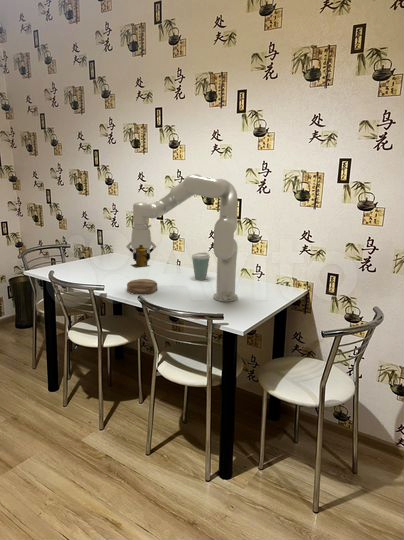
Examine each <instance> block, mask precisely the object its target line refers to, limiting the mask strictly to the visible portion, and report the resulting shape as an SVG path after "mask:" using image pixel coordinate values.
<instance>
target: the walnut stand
mask: <svg viewBox="0 0 404 540" xmlns="http://www.w3.org/2000/svg"><path fill="white" fill-rule="evenodd" d="M126 288H127V289H126V291H127V293H129V292H130V293H129V294H131V293H133V294H132V295H136V294H146V295H151V293H152V294H155V293H156V292H157V291H158V283H157V282H156V281H155V280H153V279H148V278H138V279H133V280H130V281H129V282H128V283H126Z"/></svg>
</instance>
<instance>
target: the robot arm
mask: <svg viewBox="0 0 404 540" xmlns="http://www.w3.org/2000/svg"><path fill="white" fill-rule="evenodd" d="M195 195H196V196H201V197H205V198H208V199H209V198H210V199H220V202H219V218H218V220H217V221H216V222H215V224H214V228H213V253H214V256H215V257H216V258H217V262H216V263H217V264H216V290H215V291H216V293H213V295H212V296H213V299H214V300H216V301H218V302H224V303H225V302H226V303H228V302H229V303H230V302H234V301H237V300H238V298H239V296H238V294H236V280H237V279H236V278H237V276H236V273H237V257H238V256H237V255H238V243H237V241H236V240H235V237H234V236H235V232H236V231H237V229H238V194H237V190H236V189H235V186H234V185H233V184H232V183H231V182H229V181H228V180H226V179H223V178H216V179H213V178H207V177H203V176H201V175H200V174H198V173H196V174H195V173H193V174H189V175H188V176H186V177H185V178H184V179H183V181H181V182H180V183H178V184H177V185H175V186H174V187H172V188H171V189H170V190H169V193H167V194H166V195H165V196H163V197H162V198H160V199H159V200H158V201H155V202H152V203H147V202H141V201H139V202H135V203H133V205H132V216H133V217H132V218H133V219H132V221H133V228H132V230H131V240H130V242H128V244H127V245H126V249H128V250H129V251H130V252H131V253H132V260H133V261H134V262H136V249H138V248H139V247H140V245H142V246H143V247H144V249H147V262H149V261H150V260H151V253H152V252H153V251H154V250H155V249H156V248H157V245H156V244H155V243H154V242H153V241H152V235H151V233H152V232H151V229H150V228H151V227H152V224H150V223H149V219H153V220H154V219H157V218H160V217H162V216H163V215H165V214H167V213H168V212H170V211H172V210H173V209H175V208H176V207H177V206H180V205H181V204H182V203H184V202H185V201H187V200H188V199H190V198H192V197H193V196H195ZM151 246H152V247H151Z"/></svg>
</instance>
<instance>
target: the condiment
mask: <svg viewBox="0 0 404 540" xmlns="http://www.w3.org/2000/svg"><path fill="white" fill-rule="evenodd" d="M135 253H136V261H135V264H133V263H132V264H130V266H131V267H133V268H134V269H140V268H148V267H150V265H149V264H148V261H147V253H148V252H147V249H144V247H143V246H142V245H140V247H139V248H138V249H136V251H135Z"/></svg>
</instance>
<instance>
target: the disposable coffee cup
mask: <svg viewBox="0 0 404 540" xmlns="http://www.w3.org/2000/svg"><path fill="white" fill-rule="evenodd" d="M209 254H210V253H209V252H196V253H193V255H192V256H191V259H192V265H193V266H192V267H193V271H194V279H195V280H199V281H204V280H206V278H207V276H208V268H209V262H210V259H211V258H210V257H211V256H210V255H209Z"/></svg>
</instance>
